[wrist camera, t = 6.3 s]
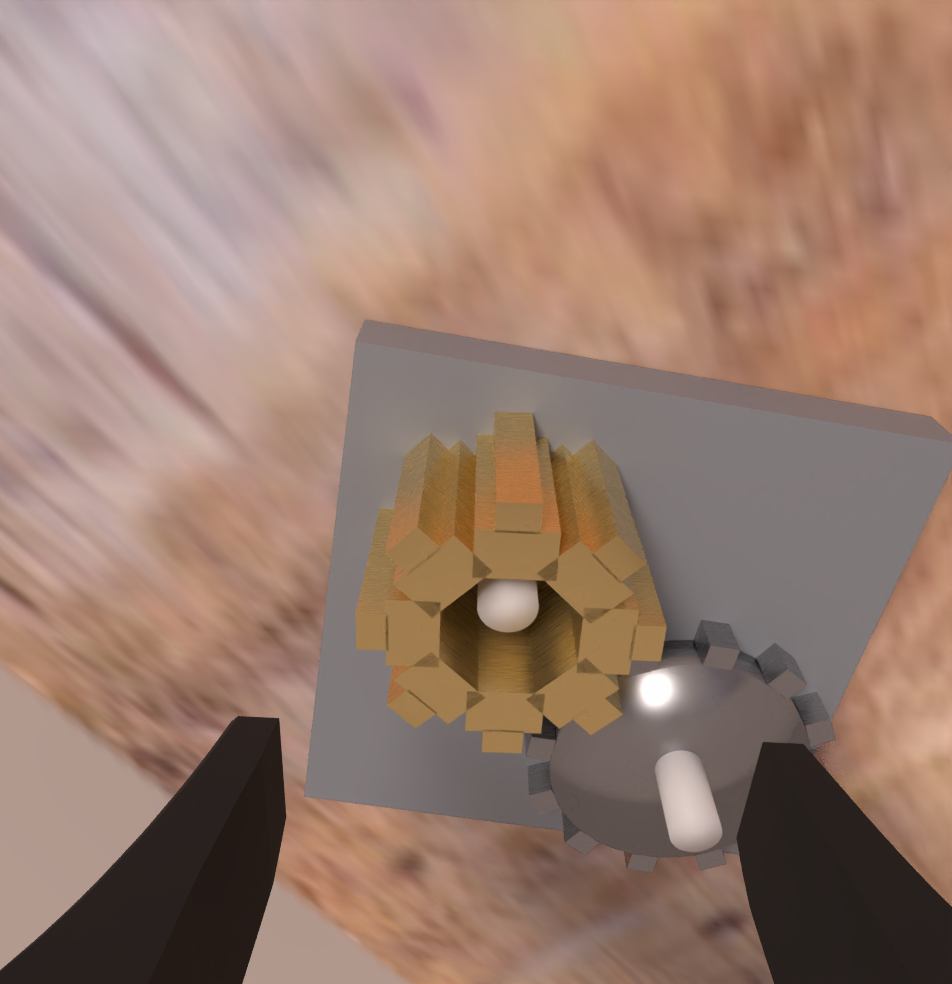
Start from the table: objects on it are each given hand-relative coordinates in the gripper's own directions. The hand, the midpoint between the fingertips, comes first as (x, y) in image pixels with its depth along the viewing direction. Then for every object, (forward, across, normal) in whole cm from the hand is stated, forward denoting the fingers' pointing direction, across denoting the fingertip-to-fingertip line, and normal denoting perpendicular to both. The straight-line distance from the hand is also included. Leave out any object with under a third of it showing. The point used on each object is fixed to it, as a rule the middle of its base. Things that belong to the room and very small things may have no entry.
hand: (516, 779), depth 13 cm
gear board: (+9, -2, +3) cm, 10 cm away
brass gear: (+7, 0, 0) cm, 7 cm away
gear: (+7, -5, +6) cm, 11 cm away
